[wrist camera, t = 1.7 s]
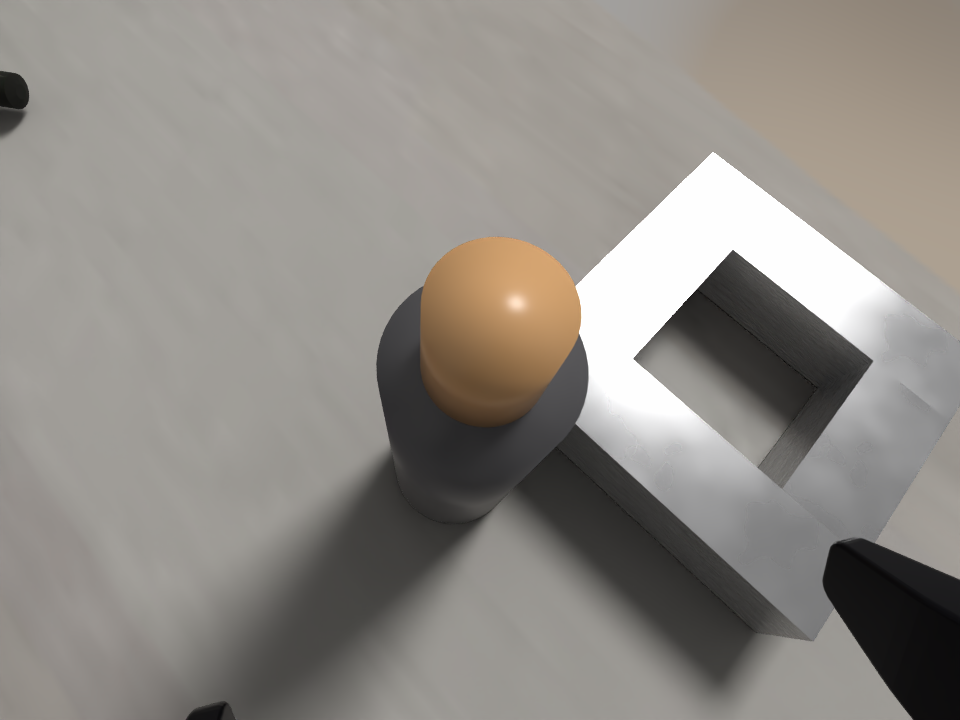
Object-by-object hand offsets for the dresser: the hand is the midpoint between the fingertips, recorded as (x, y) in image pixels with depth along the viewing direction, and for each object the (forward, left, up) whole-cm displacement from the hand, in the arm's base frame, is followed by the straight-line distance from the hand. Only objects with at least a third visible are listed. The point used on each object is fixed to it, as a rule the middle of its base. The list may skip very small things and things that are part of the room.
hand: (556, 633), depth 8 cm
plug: (+4, -3, -11) cm, 12 cm away
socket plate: (-1, -12, -11) cm, 16 cm away
